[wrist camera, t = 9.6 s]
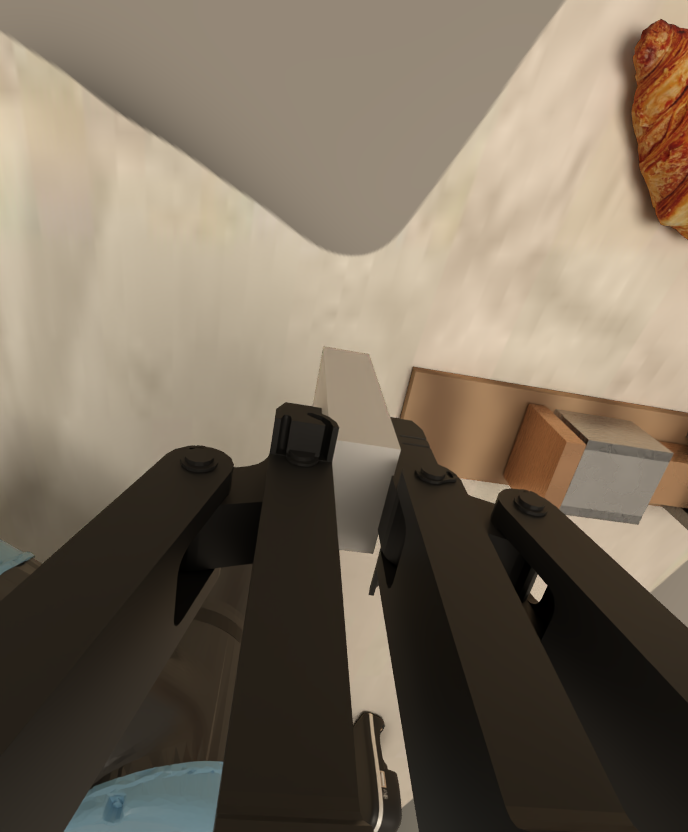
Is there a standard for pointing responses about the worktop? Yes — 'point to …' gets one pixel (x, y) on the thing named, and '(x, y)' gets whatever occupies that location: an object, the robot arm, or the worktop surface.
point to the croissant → (663, 120)
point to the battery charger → (375, 777)
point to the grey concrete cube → (613, 468)
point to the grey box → (678, 512)
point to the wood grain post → (575, 461)
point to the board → (506, 419)
